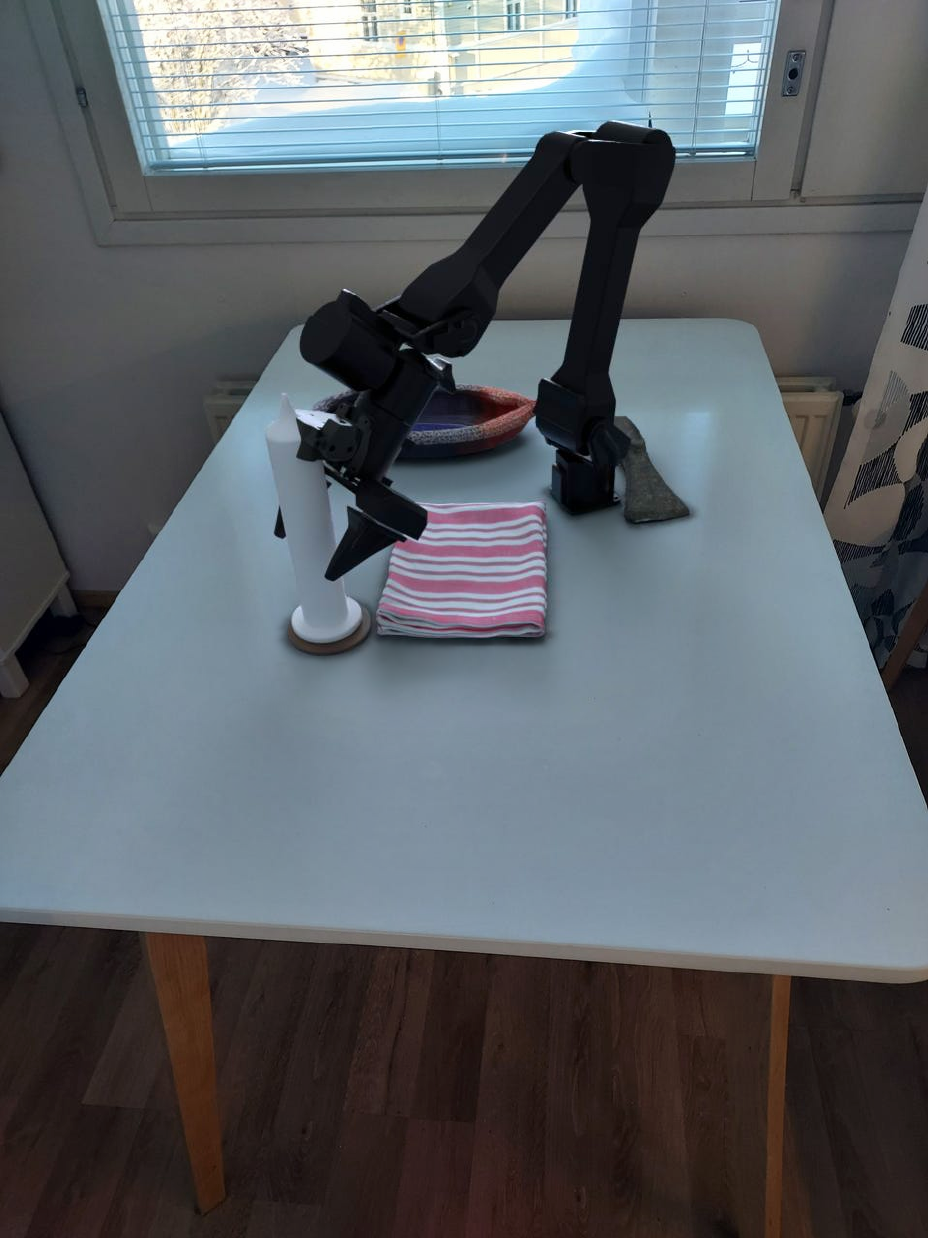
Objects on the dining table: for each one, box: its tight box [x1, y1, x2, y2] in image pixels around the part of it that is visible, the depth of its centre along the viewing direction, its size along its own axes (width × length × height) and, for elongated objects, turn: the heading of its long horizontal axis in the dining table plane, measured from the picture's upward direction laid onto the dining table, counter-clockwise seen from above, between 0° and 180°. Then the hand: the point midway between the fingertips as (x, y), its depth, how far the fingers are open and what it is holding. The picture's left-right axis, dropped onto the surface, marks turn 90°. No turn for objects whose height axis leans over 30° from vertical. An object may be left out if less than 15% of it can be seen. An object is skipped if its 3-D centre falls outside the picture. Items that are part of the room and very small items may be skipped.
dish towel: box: [375, 500, 548, 639], centre depth 98 cm, size 17×23×4 cm
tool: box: [614, 415, 691, 523], centre depth 112 cm, size 21×8×3 cm, turn 9°
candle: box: [264, 392, 362, 643], centre depth 86 cm, size 7×7×25 cm
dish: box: [310, 382, 537, 459], centre depth 121 cm, size 16×31×5 cm, turn 84°
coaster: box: [287, 602, 372, 656], centre depth 94 cm, size 8×8×1 cm
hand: (302, 557), depth 87 cm, fingers open, 9 cm apart
